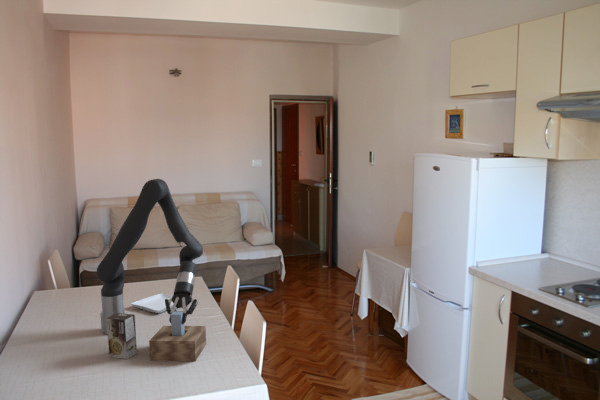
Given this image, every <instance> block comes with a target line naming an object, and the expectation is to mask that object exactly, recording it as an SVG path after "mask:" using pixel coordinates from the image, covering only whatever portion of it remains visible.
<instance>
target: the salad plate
mask: <svg viewBox="0 0 600 400" xmlns="http://www.w3.org/2000/svg"><path fill="white" fill-rule="evenodd" d="M172 297H173V295H171V294H167V293H162V292H161V293H158V294H154V295H151V296H148V297H145V298H142V299H139V300H137V301H133V302H131V303H130V305H131V306H132V307H135V308H137V309H140V310H142V309H143V311H146V310H147V311H146V312H151V313H154V312H155V313H156V314H161V313H164V312H167V311H166V305H165V299H168V300H169V299H172ZM173 304H174V303H173V302H171V305H170V310H172V306H173Z"/></svg>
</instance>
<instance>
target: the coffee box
mask: <svg viewBox="0 0 600 400" xmlns="http://www.w3.org/2000/svg"><path fill="white" fill-rule="evenodd" d="M135 315H136V314H131V313H130V314H129V313H124V314H123V313H116V314H113V315H112V316H110V317H108V318H106V320H107V332H108V334H107V341H108V342H107V343H108V356H110V358H117V359H118V358H119V359H125V360H128V359H130V358H132V357H133V356H134V355H136V354H138V350H137V349H138V348H137V333H136V318H135Z"/></svg>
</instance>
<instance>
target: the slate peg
mask: <svg viewBox="0 0 600 400" xmlns="http://www.w3.org/2000/svg"><path fill="white" fill-rule="evenodd" d="M182 316H183V310H177V311H174V312H173V313H172V314H171V323H170V326H171V329H172V336H184V335H185V328H184V326H185V323H184V324H182V323H181V321H182Z"/></svg>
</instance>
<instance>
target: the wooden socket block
mask: <svg viewBox="0 0 600 400" xmlns="http://www.w3.org/2000/svg"><path fill="white" fill-rule="evenodd" d="M184 328H185V335H184V336H172V329H171V325H162V326H161V328H159V330H158V331H157V332H156V333H155V334H154V335H153V336H152V337H151V338H150V339H149V341H148V345H149V361H150V362H151V361H154V362H155V361H157V362H164V361H165V362H196V361H197V360H198V358H199V356H200V355H201V354H202V352H203V350H204V348H205V347H206V346H207V334H206V333H207V332H206V325H184Z"/></svg>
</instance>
